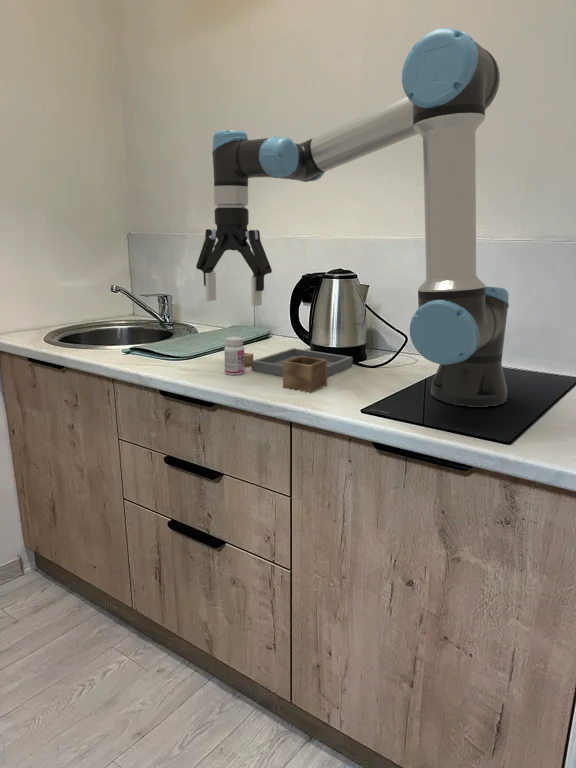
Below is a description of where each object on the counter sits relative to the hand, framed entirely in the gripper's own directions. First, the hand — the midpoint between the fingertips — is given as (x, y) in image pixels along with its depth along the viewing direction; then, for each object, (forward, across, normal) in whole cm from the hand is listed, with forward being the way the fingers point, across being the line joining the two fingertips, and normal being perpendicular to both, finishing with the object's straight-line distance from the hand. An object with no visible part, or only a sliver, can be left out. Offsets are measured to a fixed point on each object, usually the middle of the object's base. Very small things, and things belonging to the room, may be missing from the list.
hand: (233, 303), depth 133 cm
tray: (+17, -11, -13) cm, 24 cm away
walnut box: (+17, -20, 0) cm, 26 cm away
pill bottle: (+17, 0, 0) cm, 17 cm away
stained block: (+17, +4, -7) cm, 19 cm away
